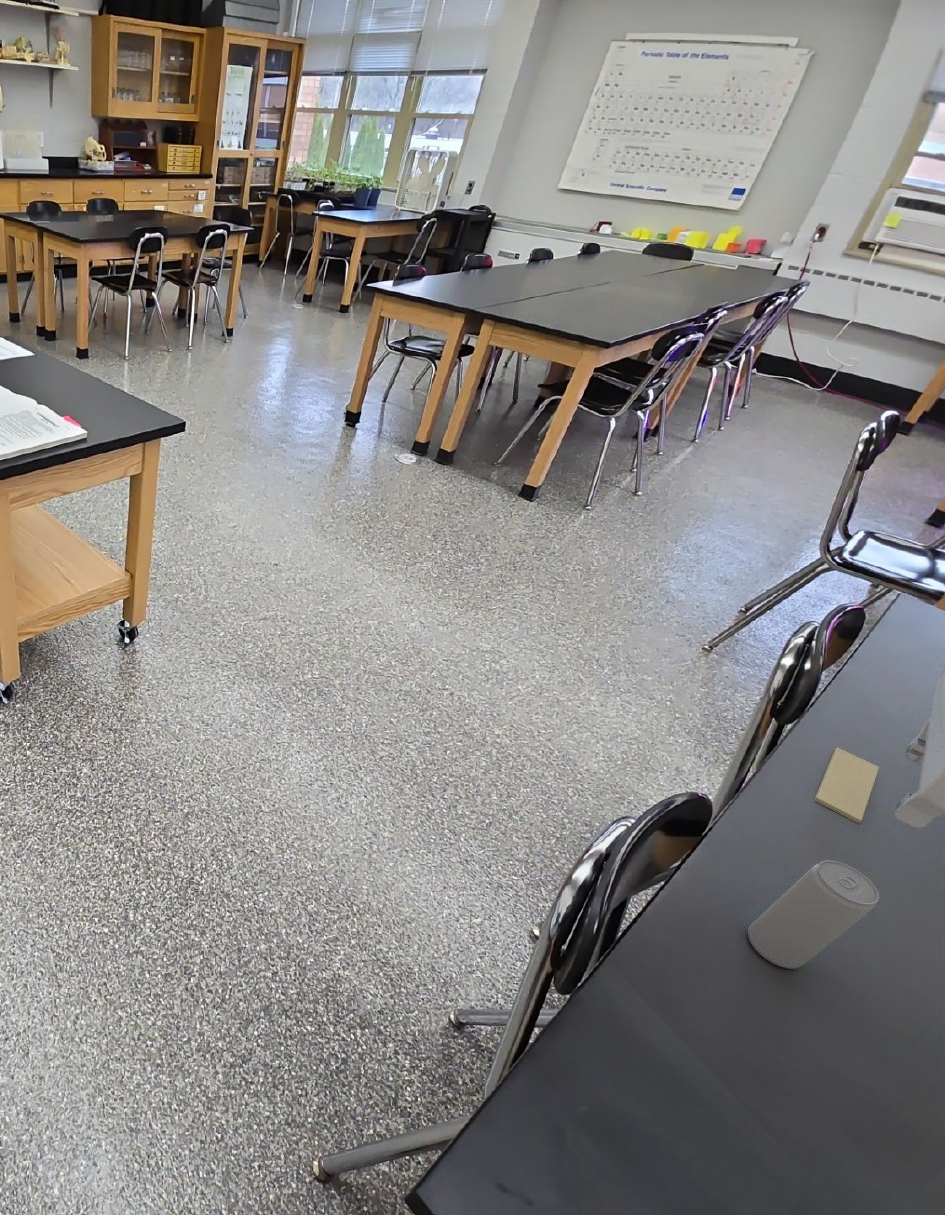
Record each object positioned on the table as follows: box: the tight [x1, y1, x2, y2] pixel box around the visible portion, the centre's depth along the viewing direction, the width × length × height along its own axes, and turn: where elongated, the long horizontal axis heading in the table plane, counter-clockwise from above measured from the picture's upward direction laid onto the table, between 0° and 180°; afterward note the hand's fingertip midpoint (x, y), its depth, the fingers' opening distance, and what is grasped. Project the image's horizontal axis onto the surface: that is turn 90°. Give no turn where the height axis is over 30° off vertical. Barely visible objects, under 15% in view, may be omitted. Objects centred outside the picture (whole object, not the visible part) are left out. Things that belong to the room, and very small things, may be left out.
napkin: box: [813, 747, 880, 824], centre depth 92 cm, size 13×4×1 cm, turn 132°
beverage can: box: [747, 859, 880, 970], centre depth 70 cm, size 5×5×12 cm
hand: (911, 787), depth 61 cm, fingers open, 8 cm apart
